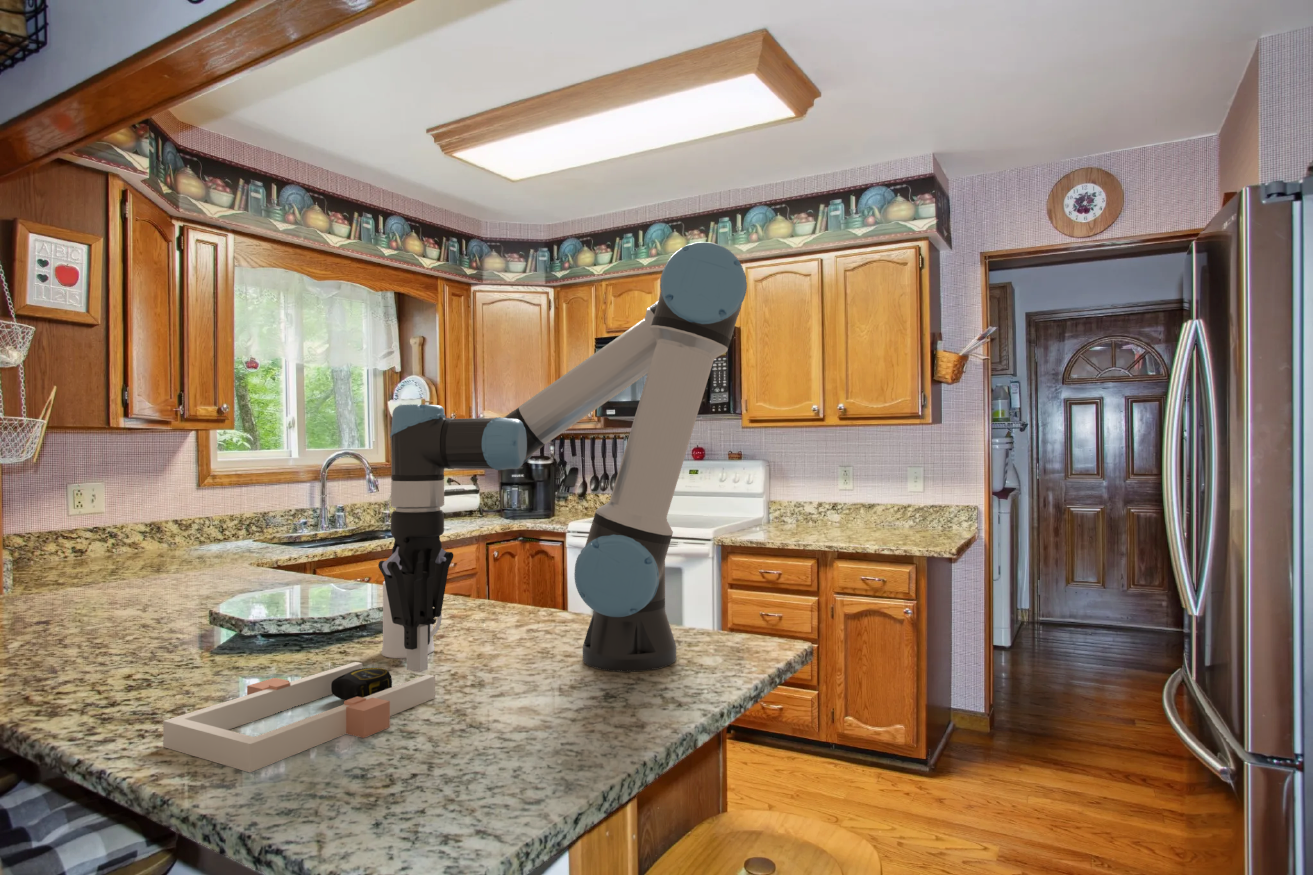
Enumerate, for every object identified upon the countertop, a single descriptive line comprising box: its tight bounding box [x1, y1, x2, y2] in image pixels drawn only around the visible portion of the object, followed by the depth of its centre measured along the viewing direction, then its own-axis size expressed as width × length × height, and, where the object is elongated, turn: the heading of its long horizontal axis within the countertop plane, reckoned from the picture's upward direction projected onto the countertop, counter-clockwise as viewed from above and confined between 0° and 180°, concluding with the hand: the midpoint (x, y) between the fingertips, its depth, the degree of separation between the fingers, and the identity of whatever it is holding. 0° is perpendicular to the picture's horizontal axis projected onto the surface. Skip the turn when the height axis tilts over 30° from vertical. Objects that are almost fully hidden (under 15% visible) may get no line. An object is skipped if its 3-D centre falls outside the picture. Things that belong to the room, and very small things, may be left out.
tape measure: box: [331, 667, 393, 701], centre depth 107 cm, size 7×7×4 cm
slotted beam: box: [162, 661, 436, 773], centre depth 99 cm, size 22×28×3 cm
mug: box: [380, 580, 443, 659], centre depth 131 cm, size 12×8×12 cm
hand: (417, 669), depth 115 cm, fingers closed
